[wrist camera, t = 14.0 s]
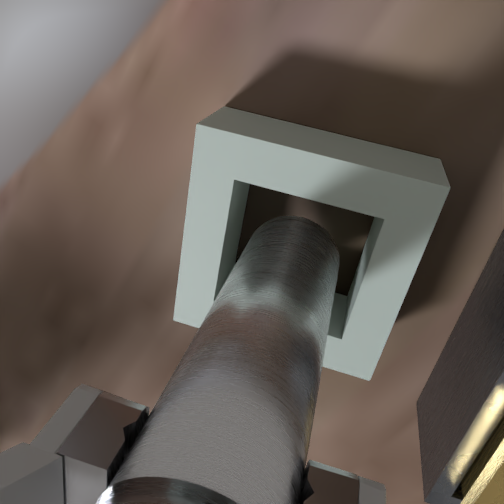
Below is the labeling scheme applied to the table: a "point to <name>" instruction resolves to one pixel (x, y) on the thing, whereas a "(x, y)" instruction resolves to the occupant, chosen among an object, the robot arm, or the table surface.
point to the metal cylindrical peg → (243, 382)
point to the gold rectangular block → (486, 472)
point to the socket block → (464, 389)
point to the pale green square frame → (317, 189)
